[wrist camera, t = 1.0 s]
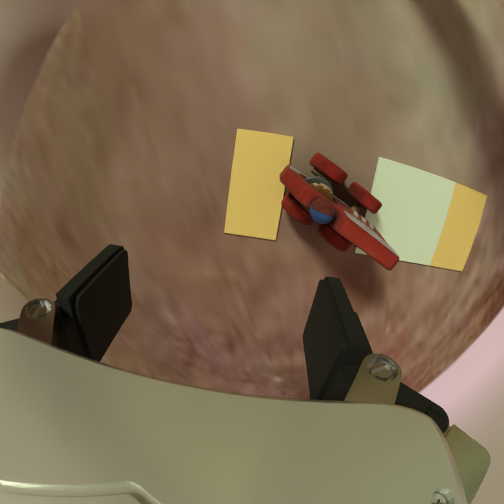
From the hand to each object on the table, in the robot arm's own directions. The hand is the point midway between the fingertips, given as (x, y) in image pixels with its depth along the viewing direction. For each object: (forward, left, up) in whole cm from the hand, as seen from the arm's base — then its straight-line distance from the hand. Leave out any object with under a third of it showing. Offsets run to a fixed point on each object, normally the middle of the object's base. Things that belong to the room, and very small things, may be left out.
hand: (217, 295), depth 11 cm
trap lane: (0, +15, -22) cm, 27 cm away
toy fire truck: (0, +9, -22) cm, 24 cm away
